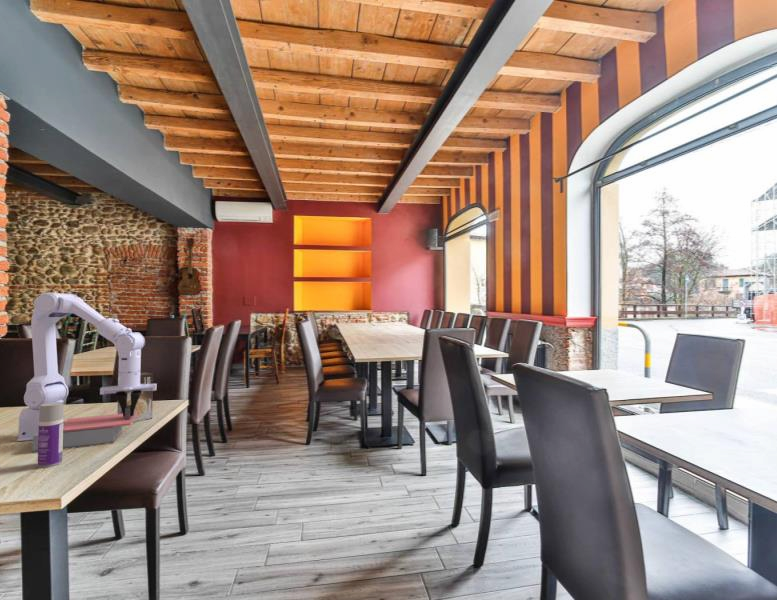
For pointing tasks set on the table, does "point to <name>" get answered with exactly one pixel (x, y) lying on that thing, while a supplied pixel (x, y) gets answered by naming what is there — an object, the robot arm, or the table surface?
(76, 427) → the lid
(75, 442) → the carton
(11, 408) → the table surface
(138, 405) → the coffee box
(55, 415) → the container
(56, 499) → the table surface
